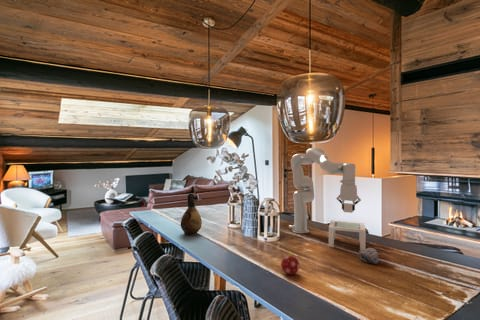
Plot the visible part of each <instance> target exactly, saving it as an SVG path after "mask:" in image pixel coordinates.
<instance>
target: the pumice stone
mask: <svg viewBox="0 0 480 320" xmlns="http://www.w3.org/2000/svg"><path fill="white" fill-rule="evenodd" d="M358 258H359V260H360V261H361V262H363V263H366V264H370V265H371V264H372V265H378V264H379V262H380V261H379V253H378V251H377V249H376V248H373V247H367V248H366V249H364V250H359V252H358Z"/></svg>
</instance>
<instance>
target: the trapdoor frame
mask: <svg viewBox="0 0 480 320" xmlns="http://www.w3.org/2000/svg"><path fill="white" fill-rule="evenodd" d="M336 222H344V223H355V224H359V229H357V228H346V227H335V224H336ZM336 231H340V232H341V231H342V232H350V233H351V232H353V233H358V235H359V236H358V237H359V238H358V239H359V251H361V250H364V249H367V248H366V242H367V241H366V239H367V236H366V233H367V232H366V225H365V223H364V222H353V221H344V220H343V221H342V220H330V221H329V225H328V247H330V248H335V240H336Z"/></svg>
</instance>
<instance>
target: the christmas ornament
mask: <svg viewBox="0 0 480 320" xmlns="http://www.w3.org/2000/svg"><path fill="white" fill-rule="evenodd" d="M280 263H281V270H282V271H283V272H284V273H285V274H287V275H292V276H293V275H296V273H297V272H298V271H299V269H300V262H299V260H298V258H296V257H295V256H294V255H292V253H291V252H290V253H288V255H286V256H285V257H283V258H282V260H281V262H280Z"/></svg>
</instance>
